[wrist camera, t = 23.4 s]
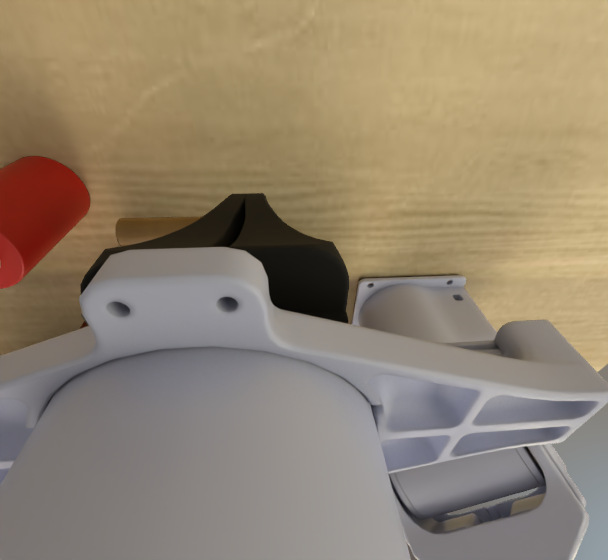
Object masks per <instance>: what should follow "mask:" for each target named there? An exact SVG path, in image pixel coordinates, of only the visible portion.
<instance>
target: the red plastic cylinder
mask: <svg viewBox="0 0 608 560" xmlns="http://www.w3.org/2000/svg"><path fill="white" fill-rule="evenodd" d="M89 207H90V198H89V194H88V191H87V189H86V187H85V185H84V184H83V182H82V181H81V180H80V178H79V177H78V176H77V175H76V174H75V173H74V172H73V171H71V170H70V169H69V168H67V167H66V166H64V165H63V164H61V163H59V162H57V161H54V160H52V159H49V158H45V157H40V156H28V157H23V158H21V159H19V160H17V161H15V162H13V163H11V164H9V165H7V166H5V167H3V168H2V169H0V289H2V288H7V287H10V286H13V285H15V284H17V283H18V282H19V281H21V280H22V279H23V278H24V277H25V276H26V275H27V274H28V273H29V272H30V271H31V270H32V269H33V268H34V267H35V266H36V264H37V263H38V262H39V261H40V260H41V259H42V258H43V257H44V256H45V255H46V254H47V253H48V252H49V251H50V250H51V249H52V248H53V247H54V246H55V245H56V244H57V243H58V242H59V241H60V240H61V239H62V238H63V237H64V236H65V235H66V234H67V233H68V232H69V231H70V230H71V229H72V228H73V227H74V226H75V225H76V224H77V223H78V222H79V221H80V220H81V219H82V218H83V217H84V216H85V215H86V214H87V212H88V210H89Z"/></svg>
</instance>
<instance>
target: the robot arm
mask: <svg viewBox="0 0 608 560" xmlns="http://www.w3.org/2000/svg"><path fill="white" fill-rule="evenodd" d="M449 280H450V281H449ZM448 281H449V282H448ZM370 283H372V284H371V285H368V284H370ZM465 283H466V278H465V277H464V276H463V275H452V276H424V277H396V278H369V279H362V280H360V281H359V283H358V287H357V293H356V299H355V305H354V311H353V317H352V323H351V324H348V317H347V313H346V305H347V297H348V290H349V276H348V272H347V269H346V266H345V264H344V262H343V259H342V258H341V256H340V254H339V252H338V250H337V249H336V247H335V245H334V244H333V242H330V241H325V240H320V239H316V238H313V237H310V236H307V235H304V234H302V233H300V232H298V231H296V230H294V229H293V228H291V227H290V226H288V225H287V224H286V223H284V222H283V221H282V220H281V219H280V218H279V217H278V216H277V215H276V213H275V212H274V211H273V209H272V208H271V207H270V205H269V203H268V202H267V200H266V196H265V195H264V194H263V193H255V194H232V195H230V196H229V197H228V198H226V199H225V200H224V201H223V202H222V203H220V204H219V205H218V206H217V207H215V208H214V209H213V210H212V211H210V212H209V213H207V214H206V215H204V216H203V217H202V218H200V219H199V220H197V221H195V222H194V223H192V224H190V225H188V226H186V227H184V228H182V229H180V230H177V231H175V232H172V233H170V234H167V235H165V236H162V237H159V238H156V239H152V240H149V241H145V242H141V243H137V244H132V245H127V246H121V247H116V248H110V249H105V250H104V251H103V253H102V254H101V255H100V256H99V258H98V259H97V260H96V262H95V263H94V264H93V266H92V267H91V268H90V270H89V271H88V272H87V274H86V275H85V276H84V279H83V281H82V283H81V296H80V297H79V301H80V306H81V310H82V315H83V317H84V318H85V320H86V321H87V323H88V325H89V326H87V327H84V328H81V329H78V330H75V331H72V332H69V333H66V334H63V335H60V336H57V337H54V338H51V339H48V340H45V341H42V342H39V343H36V344H33V345H31V346H28V347H25V348H22V349H19V350H16V351H13V352H10V353H7V354H4V355H1V356H0V560H411V559H410V555H409V551H408V547H407V544H406V541H407V543H408V545H409V546H410V548H411V550H412V553H413V555H414V556H415V557H416V558H417V559H418V560H574V558H575V555H576V553H577V551H578V548H579V546H580V544H581V541H582V539H583V537H584V534H585V532H586V529H587V527H588V523H589V515H588V514H587V512H586V510H585V509H584V507H586V500H585V499H584V498H583V496H582V494H581V493H580V491H579V490H578V488H577V487H576V485H575V484H574V482H573V481H572V479H571V478H570V476H569V475H568V473H567V472H566V469H567V467H566V466H565V464H564V463H563V461H562V459H561V458H560V456H559V455H558V453H557V452H556V450H555V449H554V447H553V446H552V443H561V442H563V441H564V440H565V439H566V438H567V437H568V436H570V435H571V434H572V433H573V432H574V431H575V430H577V429H578V428H579V427H580V426H581V425H582V424H584V423H585V422H586V421H587V420H588V419H589V418H590V417H592V416H593V415H594V414H595V413H596V412H598V411H599V410H600V409H601V408H602V407H603V406H604V405H606V404H607V403H608V383H607V382H606V381H605V380H604V379H603V378H602V377H601V376H600V375H599V374H598V373H597V372H596V371H595V370H594V368H593V367H592V366H591V365H590V364H589V363H588V362H587V361H586V360H585V359H584V358H583V357H582V356H581V355H580V354H579V353H578V352H577V351H576V349H575V348H574V347H573V346H572V345H571V344H570V343H569V342H568V341H567V340H566V339H565V338H564V337H563V336H562V335H561V334H560V333H559V331H558V330H557V329H556V328H555V327H554V326H553V325H552V324H551V323H550V322H549V321H548V320H527V321H513V322H508V323H506V324H505V325H503V326H502V327H501V328H500V329H499V331H498V332H496V330H495V329H494V328H493V326H492V325H491V324H490V322H489V321H488V320H487V318H486V317H485V315H484V314H483V313H482V311H481V310H480V309H479V307H478V306H477V305H476V303H475V302H474V301H473V299H472V298H471V296H470V295H469V294H468V292H467V291H466V290H465V288H464V285H465ZM537 487H538V489H537V490H535V491H533V492H532V493H530V494H528V495H525V496H522V497H518V498H514V499H511V500H507V501H503V502H500V503H496V504H493V505H489V506H486V507H482V508H479V509H475V510H471V511H468V512H465V513H461V514H447V513H449V512H453V511H456V510H460V509H463V508H467V507H470V506H474V505H477V504H481V503H485V502H488V501H492V500H495V499H499V498H502V497H505V496H509V495H512V494H516V493H520V492H523V491H527V490H530V489H534V488H537ZM405 539H406V540H405Z"/></svg>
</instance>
